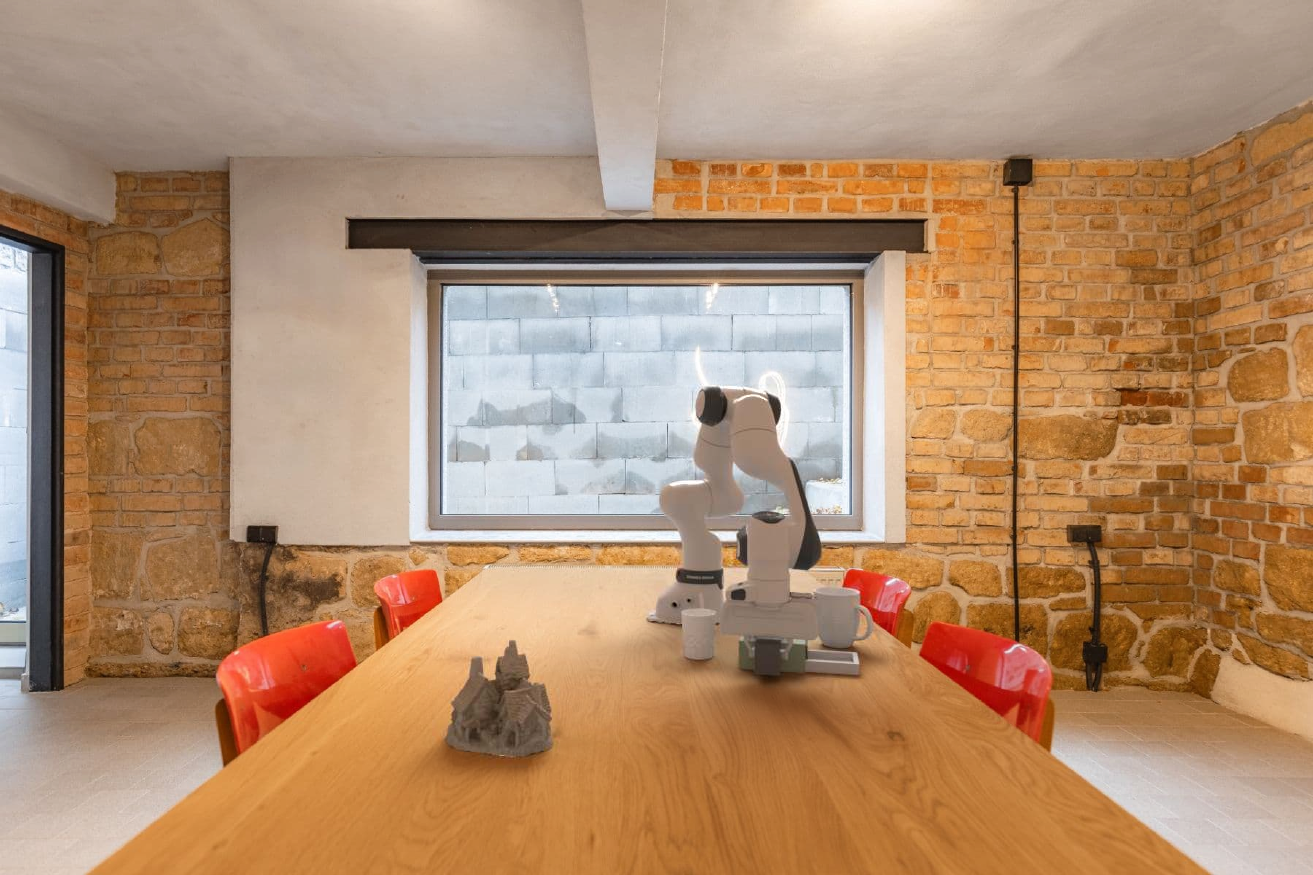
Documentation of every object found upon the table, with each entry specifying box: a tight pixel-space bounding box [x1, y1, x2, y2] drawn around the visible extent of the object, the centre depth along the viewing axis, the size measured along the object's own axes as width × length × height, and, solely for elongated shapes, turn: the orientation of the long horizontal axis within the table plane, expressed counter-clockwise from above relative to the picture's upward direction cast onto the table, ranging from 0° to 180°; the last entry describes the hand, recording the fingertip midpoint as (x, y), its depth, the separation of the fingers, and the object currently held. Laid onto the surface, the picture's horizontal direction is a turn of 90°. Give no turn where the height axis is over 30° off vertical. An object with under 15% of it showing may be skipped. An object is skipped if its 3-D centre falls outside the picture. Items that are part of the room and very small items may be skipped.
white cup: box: [681, 608, 716, 661], centre depth 158 cm, size 8×8×10 cm
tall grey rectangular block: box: [754, 637, 782, 677], centre depth 143 cm, size 5×8×6 cm, turn 167°
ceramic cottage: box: [445, 639, 554, 758], centre depth 111 cm, size 16×16×15 cm
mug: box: [812, 586, 874, 649], centre depth 166 cm, size 15×11×13 cm
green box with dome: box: [738, 636, 860, 676], centre depth 151 cm, size 25×11×10 cm, turn 77°
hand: (768, 658), depth 143 cm, fingers closed on tall grey rectangular block, 5 cm apart
